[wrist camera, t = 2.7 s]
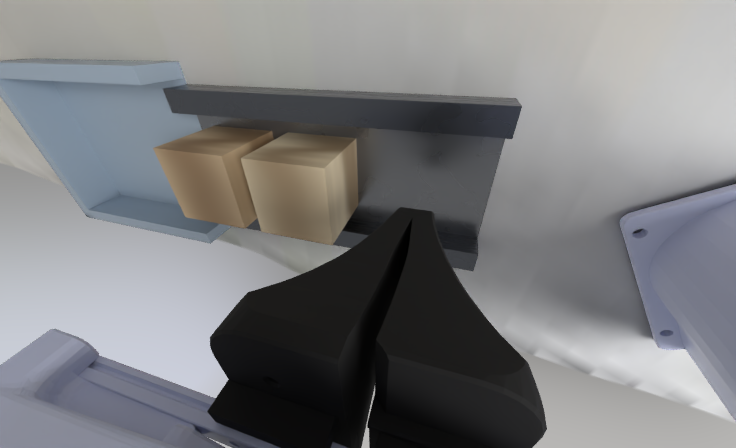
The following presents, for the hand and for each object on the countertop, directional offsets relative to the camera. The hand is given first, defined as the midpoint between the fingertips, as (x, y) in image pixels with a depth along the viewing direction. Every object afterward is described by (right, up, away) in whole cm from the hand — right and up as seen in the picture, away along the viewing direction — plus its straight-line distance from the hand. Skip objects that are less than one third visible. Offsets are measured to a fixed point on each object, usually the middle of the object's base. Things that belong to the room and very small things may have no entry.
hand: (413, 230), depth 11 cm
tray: (-18, +6, +8) cm, 20 cm away
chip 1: (-9, +4, +6) cm, 12 cm away
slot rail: (-4, +3, +5) cm, 7 cm away
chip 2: (-4, +3, +5) cm, 7 cm away
